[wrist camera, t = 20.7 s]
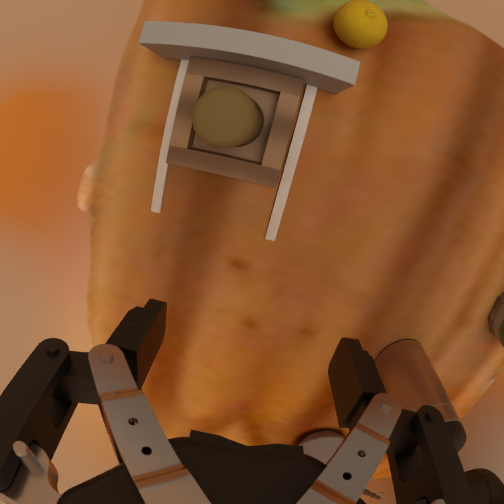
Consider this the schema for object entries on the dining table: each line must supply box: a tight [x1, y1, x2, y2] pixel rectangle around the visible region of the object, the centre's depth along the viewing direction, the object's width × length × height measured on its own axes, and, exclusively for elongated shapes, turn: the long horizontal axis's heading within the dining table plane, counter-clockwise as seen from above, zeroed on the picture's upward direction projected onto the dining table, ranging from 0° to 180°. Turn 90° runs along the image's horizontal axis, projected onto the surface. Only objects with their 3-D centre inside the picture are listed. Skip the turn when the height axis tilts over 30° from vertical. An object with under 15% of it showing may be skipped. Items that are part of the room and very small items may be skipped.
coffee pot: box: [298, 431, 384, 499], centre depth 48 cm, size 21×12×15 cm, turn 62°
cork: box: [192, 86, 264, 149], centre depth 26 cm, size 6×6×11 cm
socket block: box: [166, 57, 304, 188], centre depth 30 cm, size 12×12×3 cm
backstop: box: [139, 21, 360, 241], centre depth 29 cm, size 21×20×8 cm
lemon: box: [333, 0, 387, 49], centre depth 23 cm, size 6×6×8 cm
